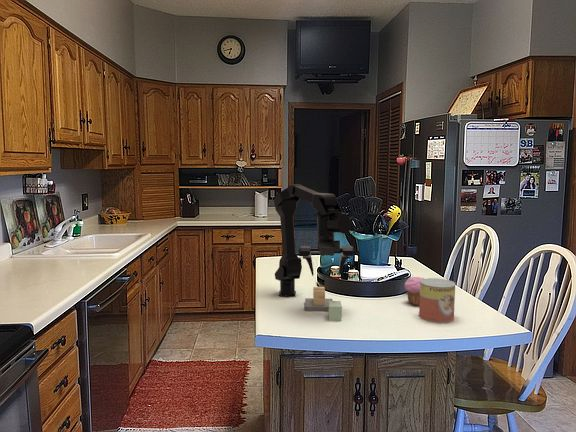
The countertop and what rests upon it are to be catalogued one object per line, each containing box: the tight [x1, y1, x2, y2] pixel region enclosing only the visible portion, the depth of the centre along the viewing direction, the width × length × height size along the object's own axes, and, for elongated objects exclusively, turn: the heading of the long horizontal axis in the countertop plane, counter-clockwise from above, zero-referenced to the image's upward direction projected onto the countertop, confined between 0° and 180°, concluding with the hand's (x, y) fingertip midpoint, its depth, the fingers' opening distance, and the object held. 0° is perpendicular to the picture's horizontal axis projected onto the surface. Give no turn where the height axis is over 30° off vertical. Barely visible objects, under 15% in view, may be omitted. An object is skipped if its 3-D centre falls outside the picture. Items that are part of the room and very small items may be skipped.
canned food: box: [418, 277, 456, 324], centre depth 155 cm, size 11×11×12 cm
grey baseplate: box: [304, 297, 334, 312], centre depth 167 cm, size 10×10×2 cm
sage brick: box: [328, 300, 343, 322], centre depth 155 cm, size 6×4×5 cm, turn 178°
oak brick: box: [312, 286, 326, 305], centre depth 167 cm, size 6×4×5 cm, turn 178°
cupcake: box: [404, 276, 426, 306], centre depth 170 cm, size 9×9×10 cm
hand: (326, 275), depth 161 cm, fingers open, 9 cm apart
